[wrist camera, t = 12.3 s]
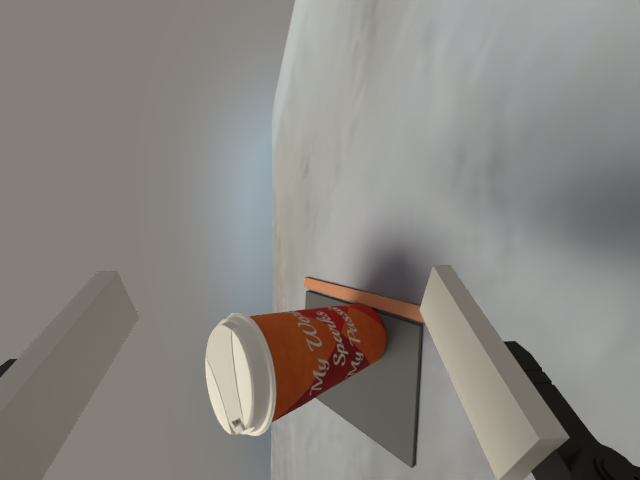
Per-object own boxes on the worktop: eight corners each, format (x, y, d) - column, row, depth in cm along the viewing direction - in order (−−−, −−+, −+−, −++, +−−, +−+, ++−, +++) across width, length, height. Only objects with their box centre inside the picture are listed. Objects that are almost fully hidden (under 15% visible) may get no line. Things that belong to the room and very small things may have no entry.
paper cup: (413, 358, 24) (270, 432, 14) (355, 384, 28) (217, 454, 19) (370, 277, 27) (231, 293, 18) (324, 311, 32) (194, 340, 22)
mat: (308, 290, 35) (306, 291, 35) (422, 325, 24) (419, 326, 23) (304, 386, 35) (302, 387, 35) (414, 465, 24) (411, 468, 24)
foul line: (306, 277, 35) (304, 277, 35) (454, 314, 22) (452, 314, 22) (306, 286, 35) (304, 287, 35) (453, 329, 22) (451, 330, 22)
